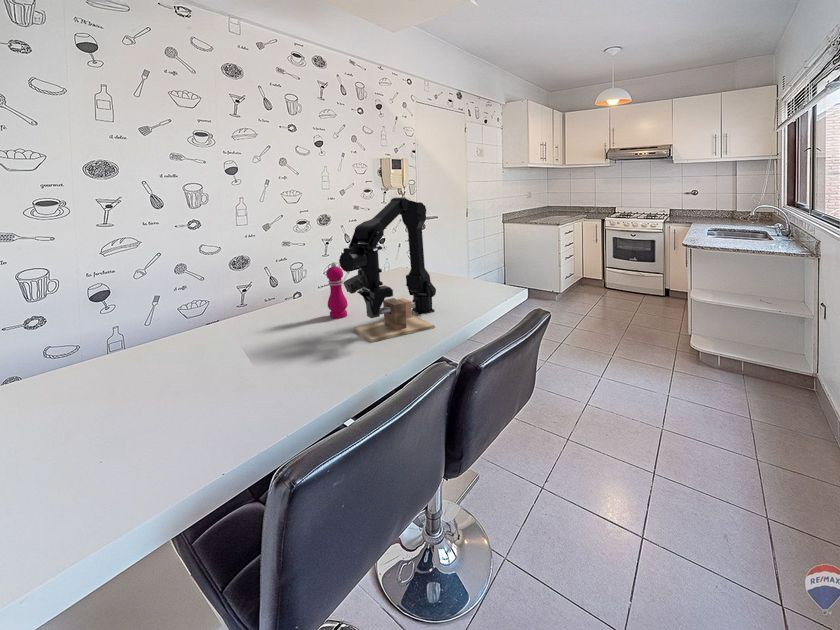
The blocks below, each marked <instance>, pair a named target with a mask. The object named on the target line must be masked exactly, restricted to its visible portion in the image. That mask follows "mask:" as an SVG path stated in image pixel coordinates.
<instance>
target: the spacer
mask: <svg viewBox="0 0 840 630" xmlns="http://www.w3.org/2000/svg"><path fill="white" fill-rule="evenodd" d="M397 300H399V301H402V302H404V303H405V307H406V318H410V317H412V308H411V302H412V301H411V300H408V299H406V298H404V297H402V298H397Z"/></svg>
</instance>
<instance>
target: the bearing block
mask: <svg viewBox="0 0 840 630" xmlns="http://www.w3.org/2000/svg"><path fill="white" fill-rule="evenodd" d="M382 305H383V307H382V308H384V307H389V306H391V313H385V314H383V318H384V319H383V320H384V323H385V325H387V326H389V327H391V328H392V329H394V330H399V329H404V328H406V307H405V303H404V302H402V301H399V300H398V298H394V297H393V298H392V297H391V298H388V299H386V298H385V299H384V301H383V303H382Z"/></svg>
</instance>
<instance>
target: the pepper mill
mask: <svg viewBox="0 0 840 630" xmlns="http://www.w3.org/2000/svg"><path fill="white" fill-rule="evenodd" d="M325 275H326V277H327V279H328V285H329V288H330V292H329V296H328V299H327V308H328V310H330V311H329V317H330V319H331V318H332V319H343V317H344V318H346V317H347V316H348V311H347V310H346V309H347V308H348V305H349V304H348V300H347V298H346V296H345V294H344V291H343V287H342V285H343V282H344V281H343V279H342V278H343V276H344V270H343V269H342V268H341V267H339V266H337V263H336V262H332V263H331V266H330V267H329V268H328V269H327V270H326V274H325Z"/></svg>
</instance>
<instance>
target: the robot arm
mask: <svg viewBox="0 0 840 630" xmlns="http://www.w3.org/2000/svg"><path fill="white" fill-rule="evenodd" d="M399 215H400V216H401V220H402V223H403V225H404V226H405V227H406V229H407V237H408V238H407V239H408V250H409V261H410V271H409V273H408V274H406V275H405V281H406V284H405V286H406V287H407V290H408V293H409V296H413V297H412V298H413V299H412V301H411V302H414V303H415V308H411V312H414V313H416V314H419V315H423V314H428V313H433V312H435V310H436V309H433V297H435V296H436V293H437V292H436V291H437V288H436V287H435V286H434V285H433V284H432V282H431V276H430V273H429V272H428V270H427V269H426V268H425V267H426V266H425V255H424V240H423V239H424V238H423V226H424V224H425V222H426V220H427V208H426V205H425V204H424V203H423V202H417V201H414V200H410V199H407V198H405V197H393V198H391V199H390V202H388V204H386V205H385V206H384V207H383V208H382V209H381V210H380V211H379V212H378V213H377V214H376V215H375V216H374V217H372V218H371V219H368V220H365V221H362V222H361V223H360V224H358V225H357V226H355V228H354V232H353V235H352V238H351V240H350V243H349V244H348V247H345V248H343V250H342V251H343V252H342V253H341V254H340V256H339V260H338V262H339V266H340V268H341V269H342V271H343V272H345V273H350V272H353V271H357V274H356V275H353V276H352V277H350V278H349V279H348V278H347V279H346V280H345V281H342V282H343V283H342V285H344V287H345V289H346V292H347V293H350V295H351V294H352V295H353V294H355V293H357V294H358V295H360V296H361V297H362V298H363V300H364V302H365V303H364V304H366V300H371V305H372V310H373V314H374V316H376V315H378V312H379V310H380V308H382V305H383V301H384V300H386V298H392V297H393V296H394V289H393V288H392V287H390V286H387V285H383V281H381V277H380V276H381V275H380V274H381V273H382V272H383V269H382V268H380V260H379V259H380V258H379V251H381V250H383V246H381V245H380V244H379V243H380V241H381V239H382V238H383V237H384V234H385V233H384V231H385V230H386V229H387V228H388V226H390V224H391V223H392V222H393V221H394V220H395V219H396V218H397V217H398V216H399Z"/></svg>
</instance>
